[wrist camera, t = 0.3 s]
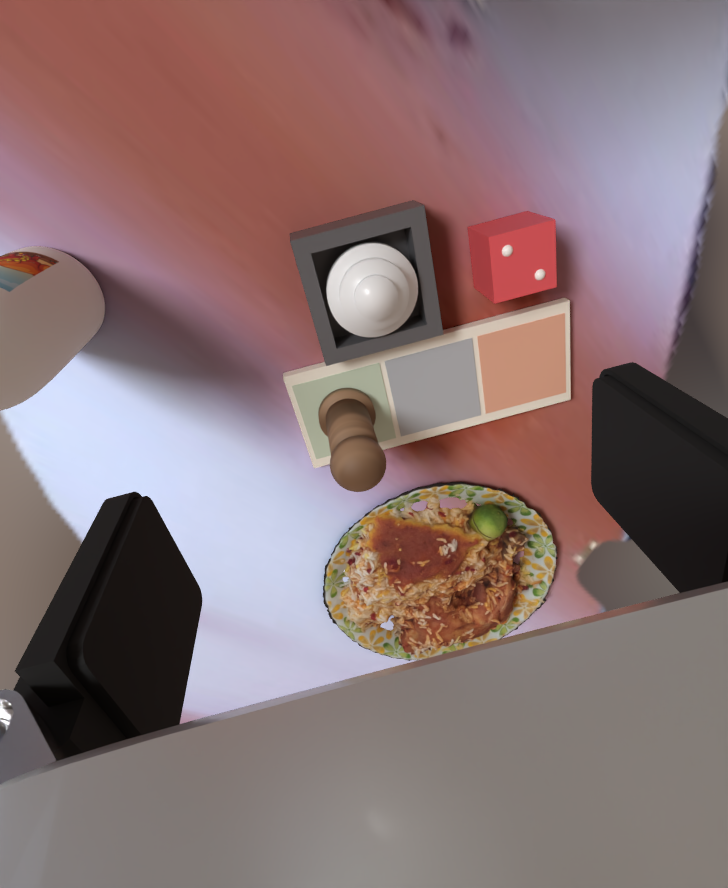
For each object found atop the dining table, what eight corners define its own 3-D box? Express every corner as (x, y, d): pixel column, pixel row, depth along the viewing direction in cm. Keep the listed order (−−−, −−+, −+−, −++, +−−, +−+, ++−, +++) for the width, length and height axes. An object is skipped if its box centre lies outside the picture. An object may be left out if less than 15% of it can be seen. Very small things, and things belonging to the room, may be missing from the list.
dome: (315, 255, 38) (317, 263, 36) (406, 230, 38) (414, 237, 36) (338, 342, 42) (342, 354, 39) (421, 319, 42) (429, 331, 39)
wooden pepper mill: (311, 396, 46) (318, 460, 37) (367, 381, 46) (388, 441, 37) (326, 443, 49) (336, 514, 39) (379, 429, 49) (401, 497, 39)
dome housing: (289, 233, 40) (290, 241, 37) (413, 200, 40) (424, 205, 37) (323, 351, 45) (326, 366, 42) (432, 321, 45) (443, 334, 42)
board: (283, 373, 46) (282, 378, 45) (564, 297, 46) (570, 300, 45) (313, 462, 51) (314, 468, 50) (565, 395, 51) (571, 399, 50)
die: (467, 227, 41) (490, 237, 37) (527, 211, 41) (557, 219, 37) (474, 287, 44) (495, 304, 39) (530, 272, 44) (558, 288, 39)
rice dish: (275, 555, 58) (272, 592, 54) (490, 431, 52) (508, 461, 47) (400, 668, 72) (406, 706, 67) (581, 581, 66) (602, 615, 61)
